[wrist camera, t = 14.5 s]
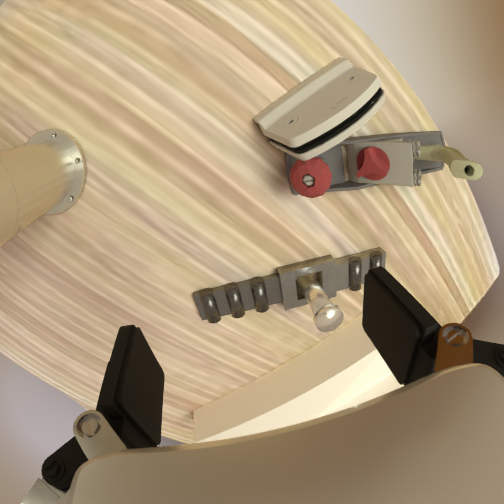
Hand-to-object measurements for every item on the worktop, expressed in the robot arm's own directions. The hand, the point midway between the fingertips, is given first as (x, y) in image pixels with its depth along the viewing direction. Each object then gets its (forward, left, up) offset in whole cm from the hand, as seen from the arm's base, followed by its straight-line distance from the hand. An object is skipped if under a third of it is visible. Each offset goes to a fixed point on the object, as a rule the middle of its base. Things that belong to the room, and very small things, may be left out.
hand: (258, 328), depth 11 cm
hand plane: (+24, -1, -31) cm, 39 cm away
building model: (+7, -49, -31) cm, 58 cm away
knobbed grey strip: (+8, -19, -30) cm, 37 cm away
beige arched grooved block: (+15, +8, -31) cm, 35 cm away
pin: (+10, -19, -30) cm, 37 cm away
